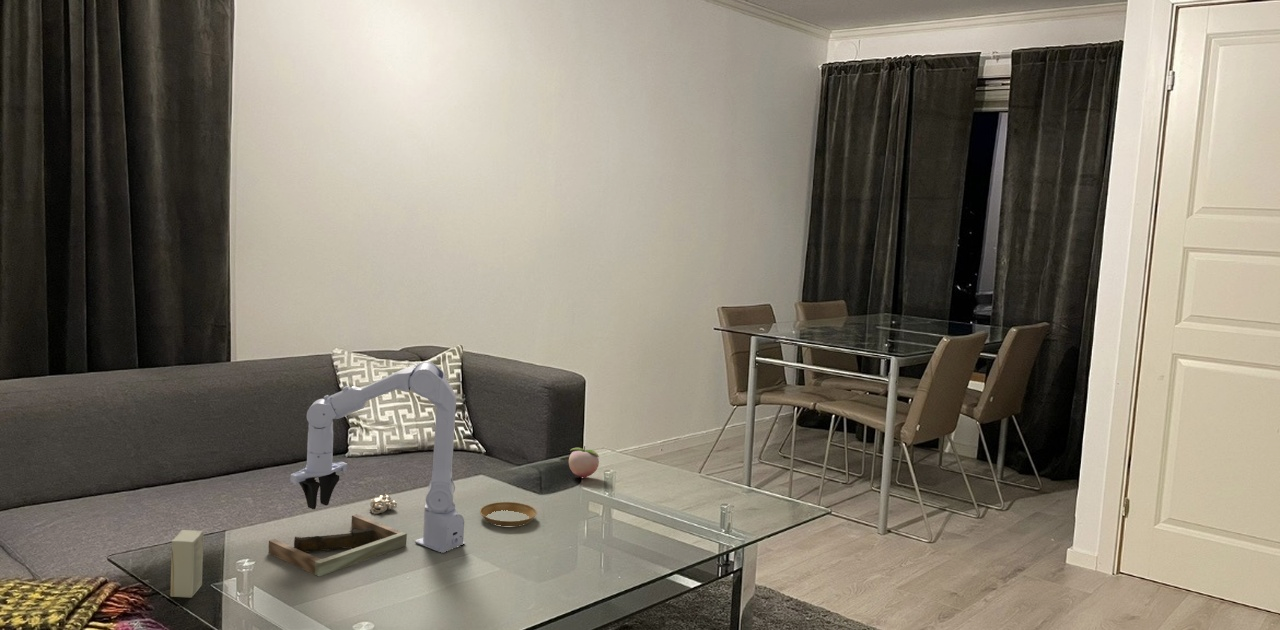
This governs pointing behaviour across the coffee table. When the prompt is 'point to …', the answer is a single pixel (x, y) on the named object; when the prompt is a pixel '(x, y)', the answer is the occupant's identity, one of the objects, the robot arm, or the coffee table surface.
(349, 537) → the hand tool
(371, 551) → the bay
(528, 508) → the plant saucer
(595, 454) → the decorative fruit
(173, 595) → the skincare box
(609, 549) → the coffee table surface
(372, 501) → the ornament
